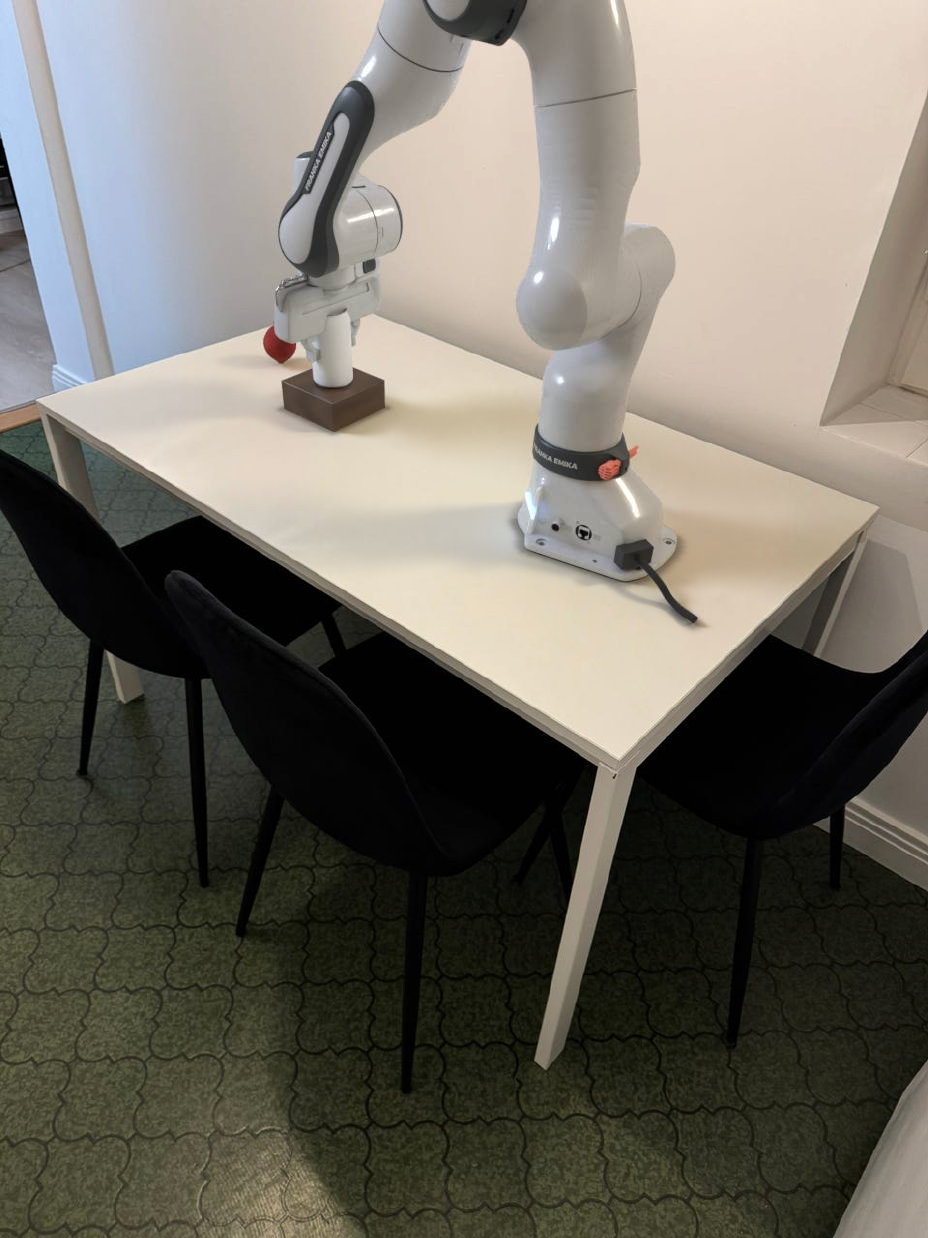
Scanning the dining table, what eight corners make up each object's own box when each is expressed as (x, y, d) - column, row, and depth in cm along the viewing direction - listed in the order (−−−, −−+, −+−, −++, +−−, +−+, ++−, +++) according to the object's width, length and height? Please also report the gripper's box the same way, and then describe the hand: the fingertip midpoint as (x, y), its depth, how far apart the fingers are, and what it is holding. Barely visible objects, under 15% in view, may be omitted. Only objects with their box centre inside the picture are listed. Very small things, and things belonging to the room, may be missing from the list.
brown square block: (385, 407, 153) (384, 379, 150) (334, 432, 146) (332, 403, 143) (335, 386, 159) (333, 358, 156) (283, 408, 152) (281, 380, 148)
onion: (287, 353, 169) (283, 311, 164) (303, 364, 165) (300, 321, 160) (259, 361, 166) (254, 318, 161) (275, 372, 162) (271, 328, 157)
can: (310, 374, 151) (304, 302, 143) (348, 370, 152) (345, 299, 145) (317, 390, 146) (312, 317, 138) (356, 386, 148) (353, 314, 140)
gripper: (289, 288, 130) (297, 378, 138) (387, 255, 142) (388, 340, 151) (259, 277, 133) (269, 366, 141) (358, 246, 145) (361, 330, 154)
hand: (331, 352), depth 146 cm, fingers closed on can, 6 cm apart
